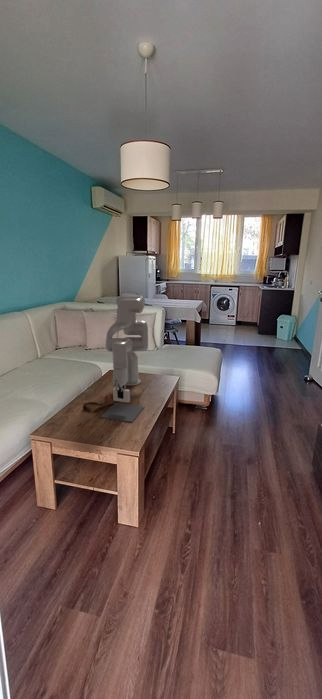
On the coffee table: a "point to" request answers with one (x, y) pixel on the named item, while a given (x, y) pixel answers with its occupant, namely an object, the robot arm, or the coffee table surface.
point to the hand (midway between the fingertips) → (121, 396)
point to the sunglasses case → (98, 404)
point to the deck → (125, 396)
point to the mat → (122, 412)
